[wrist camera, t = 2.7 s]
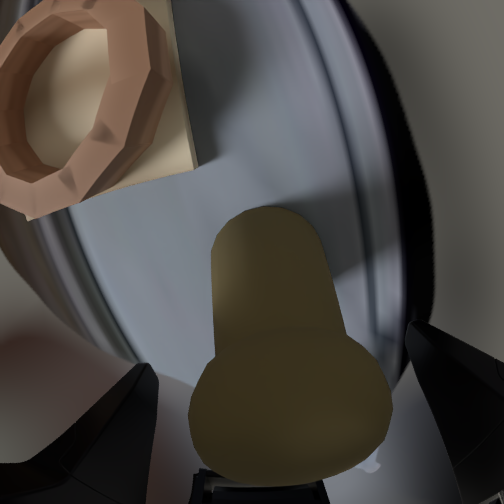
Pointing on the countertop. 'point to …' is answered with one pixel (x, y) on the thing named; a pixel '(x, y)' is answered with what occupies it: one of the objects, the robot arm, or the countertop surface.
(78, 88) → the socket board
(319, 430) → the cork
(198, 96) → the countertop surface
